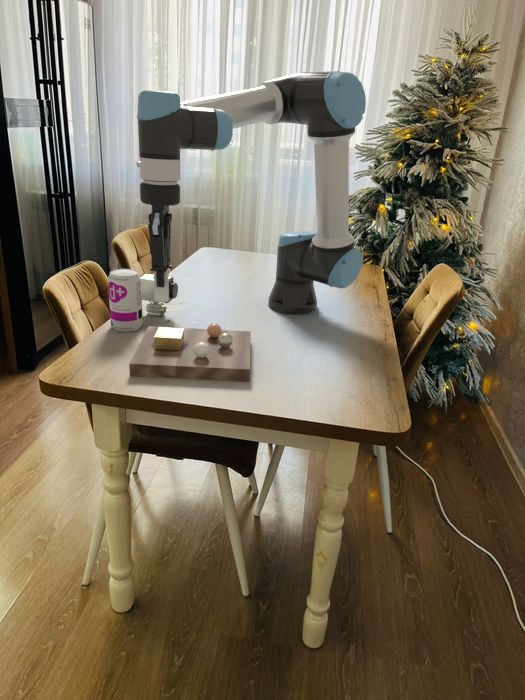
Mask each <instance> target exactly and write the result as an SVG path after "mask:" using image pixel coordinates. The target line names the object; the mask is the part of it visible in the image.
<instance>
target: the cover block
mask: <svg viewBox="0 0 525 700" xmlns="http://www.w3.org/2000/svg"><path fill="white" fill-rule="evenodd" d="M158 327H159V328H158V330H157V332H156V334H155V336H154V346H155V349H165V350H181V348H182V345H183V342H184V328H185V327H176V328H165V327H166V326H158Z"/></svg>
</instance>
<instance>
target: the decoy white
mask: <svg viewBox="0 0 525 700" xmlns="http://www.w3.org/2000/svg"><path fill="white" fill-rule="evenodd" d="M194 354H195V355H196V356H197V357H199V358H204V357H206V356H207V355H208V354H209V347H208V345H207V344H206V343H203V342H200V343H197V344H196V345H195V346H194Z"/></svg>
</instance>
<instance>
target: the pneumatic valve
mask: <svg viewBox="0 0 525 700" xmlns="http://www.w3.org/2000/svg"><path fill="white" fill-rule="evenodd" d="M140 277H141V292H142V301H149V303H147V304H146V306H145V309H146V312H147V315H148V316H151V317H152V316H153V317H158V318H159V317H162V315H165V314H166V312H167V306H166V305H165V304H169V303H170V302H171V301H173V299H176V298H177V296H178V293H179V286H178V283H176V282H175V280H174V276H169V300H168V302H160V301H155V294H154V273H153V274H149V273H148V274H147V273H143V274H141V275H140Z"/></svg>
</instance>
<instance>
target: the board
mask: <svg viewBox="0 0 525 700" xmlns="http://www.w3.org/2000/svg"><path fill="white" fill-rule="evenodd" d="M159 327H160V326H154V325H153V326H151V325H149V326H147V329H146V331H144V332H145V333H144V334H143V336H142V338H141V340H140V342H139V344H138V346H137V348H136V349H135V352H134V354H133V356H132V357H131V359H130V361H129V362H128V363H129V365H128V367H129V377H144V378H163V379H164V378H165V379H183V380H184V379H185V380H186V379H187V380H204V381H222V382H223V381H225V382H226V381H227V382H243V383H244V382H245V383H246V382H248V383H250V376H251V375H250V374H251V341H252V339H251V338H252V337H251V336H252V335H251V332H252V331H249V330H235V329H234V330H231V329H221V334H224V333H227V334H229V335H230V336H231V337H232V339H233V342H232V345H231V346H230V347H228V348H222V347H220V346H219V344H218V338H219V336H220V335H221V334H220V335H219V336H218V337H216V338H213V337H210V336H209V335H208V333H207V328H194V327H193V328H192V327H190V328H189V327H183V328H184V342H183V345H182V348H181V350H165V349H155V346H154V336H155V334H156V332H157V330H158V328H159ZM164 327H165V328H177V327H173V326H172V327H171V326H164ZM200 342H203V343H206V344H207V345H208V347H209V354H208V355H207V356H206V357H204V358H199V357H197V356H196V355H195V354H194V346H195V345H196V344H197V343H200Z"/></svg>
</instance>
